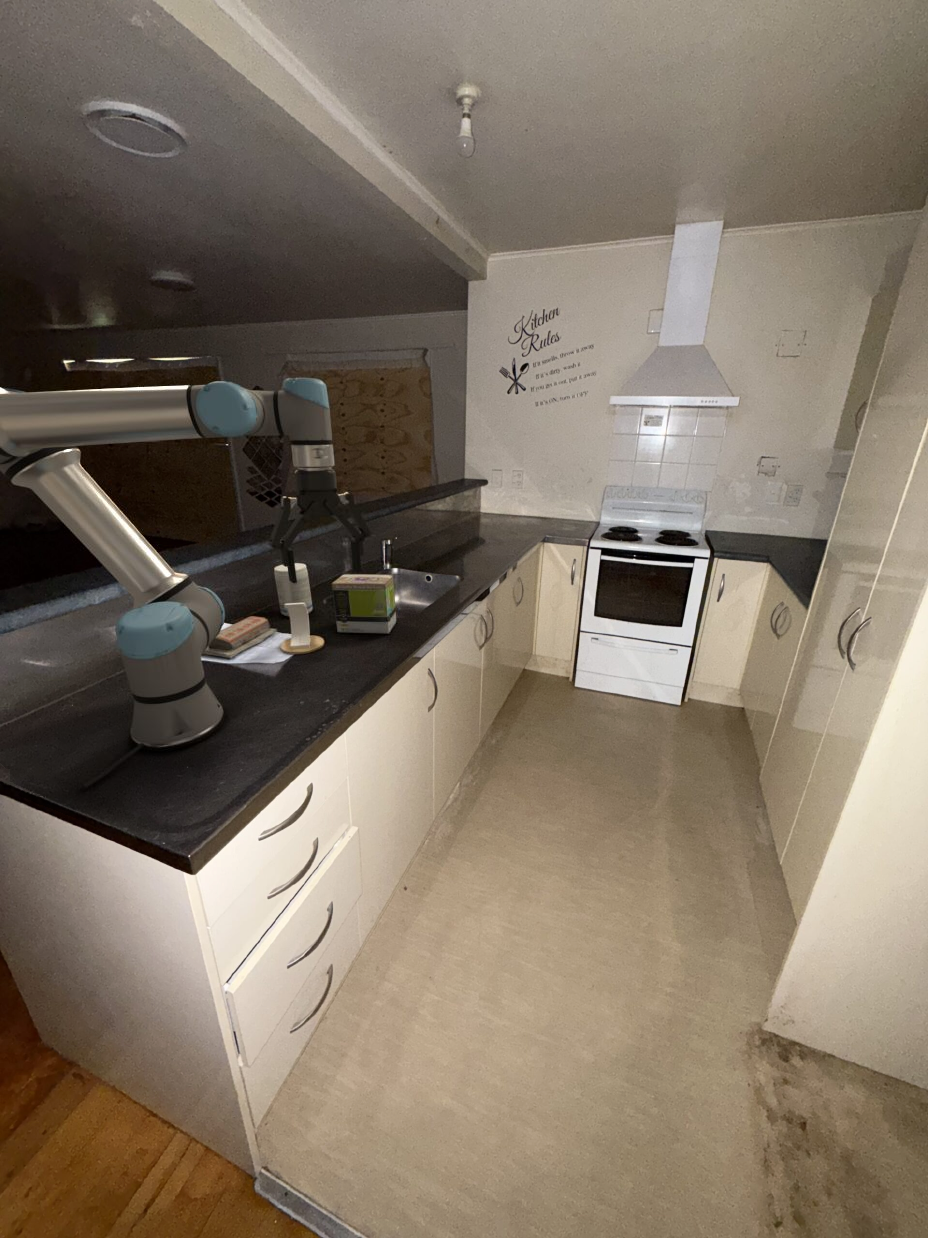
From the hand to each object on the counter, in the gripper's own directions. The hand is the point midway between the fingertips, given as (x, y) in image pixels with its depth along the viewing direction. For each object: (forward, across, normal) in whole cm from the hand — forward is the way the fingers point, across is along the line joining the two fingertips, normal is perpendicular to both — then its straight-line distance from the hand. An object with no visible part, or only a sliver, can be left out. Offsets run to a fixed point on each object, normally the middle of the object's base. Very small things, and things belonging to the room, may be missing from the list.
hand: (326, 576), depth 100 cm
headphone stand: (+24, 0, +25) cm, 35 cm away
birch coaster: (+25, 0, +25) cm, 35 cm away
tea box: (+25, +19, +27) cm, 41 cm away
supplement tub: (+25, +7, +51) cm, 57 cm away
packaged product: (+25, -13, +36) cm, 46 cm away
